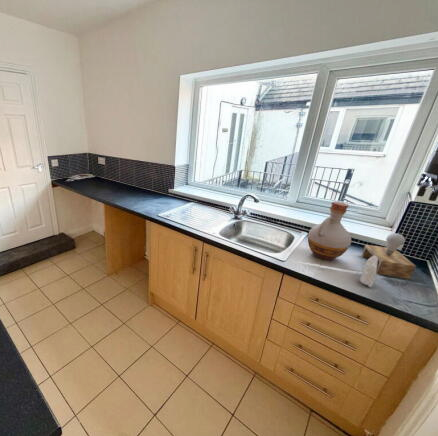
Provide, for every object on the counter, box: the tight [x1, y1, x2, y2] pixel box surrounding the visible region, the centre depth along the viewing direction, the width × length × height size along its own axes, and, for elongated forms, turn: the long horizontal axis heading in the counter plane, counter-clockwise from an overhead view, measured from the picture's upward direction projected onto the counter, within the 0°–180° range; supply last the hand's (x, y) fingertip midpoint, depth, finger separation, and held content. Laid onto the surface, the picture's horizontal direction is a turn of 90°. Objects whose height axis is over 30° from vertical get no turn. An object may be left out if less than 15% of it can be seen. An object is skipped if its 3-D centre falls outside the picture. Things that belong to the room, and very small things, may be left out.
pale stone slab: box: [359, 256, 379, 288], centre depth 107 cm, size 12×4×11 cm, turn 139°
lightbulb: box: [385, 232, 406, 255], centre depth 115 cm, size 6×6×11 cm
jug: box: [307, 201, 352, 261], centre depth 122 cm, size 20×18×30 cm
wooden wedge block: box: [361, 244, 417, 280], centre depth 119 cm, size 12×18×7 cm, turn 159°
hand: (425, 198), depth 112 cm, fingers open, 8 cm apart
